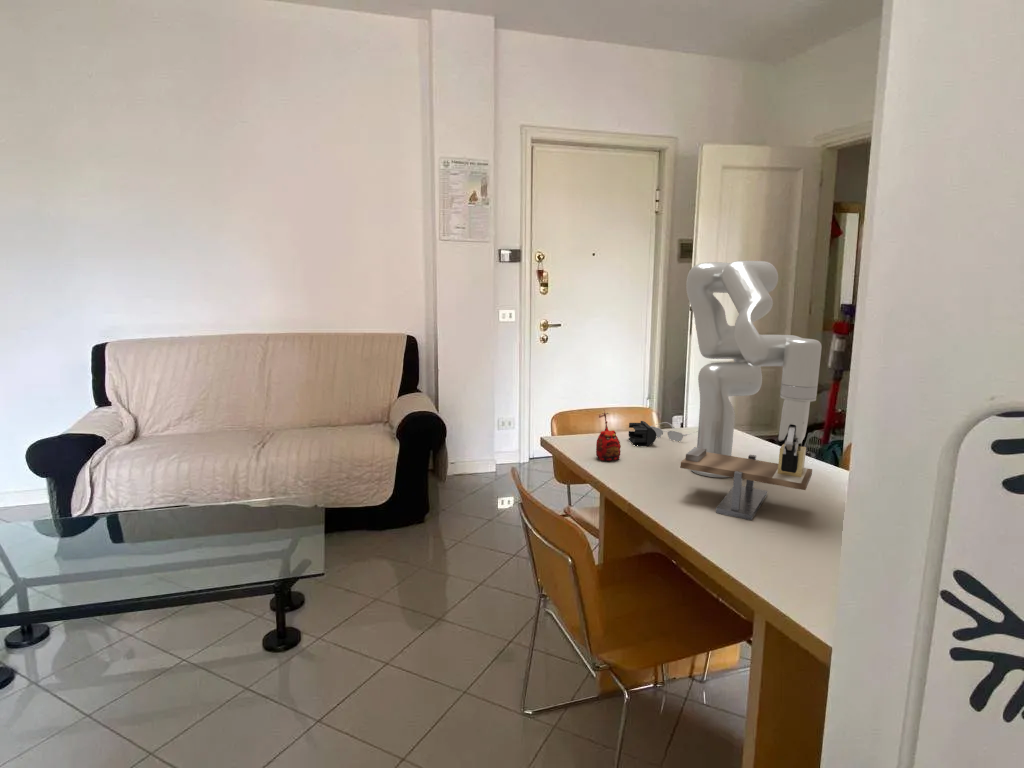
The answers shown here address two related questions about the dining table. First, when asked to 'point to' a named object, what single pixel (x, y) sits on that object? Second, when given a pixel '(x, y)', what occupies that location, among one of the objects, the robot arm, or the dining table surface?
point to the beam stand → (742, 498)
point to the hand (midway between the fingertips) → (790, 467)
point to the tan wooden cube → (800, 463)
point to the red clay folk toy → (607, 444)
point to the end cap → (642, 434)
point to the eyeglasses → (669, 433)
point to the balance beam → (743, 468)
